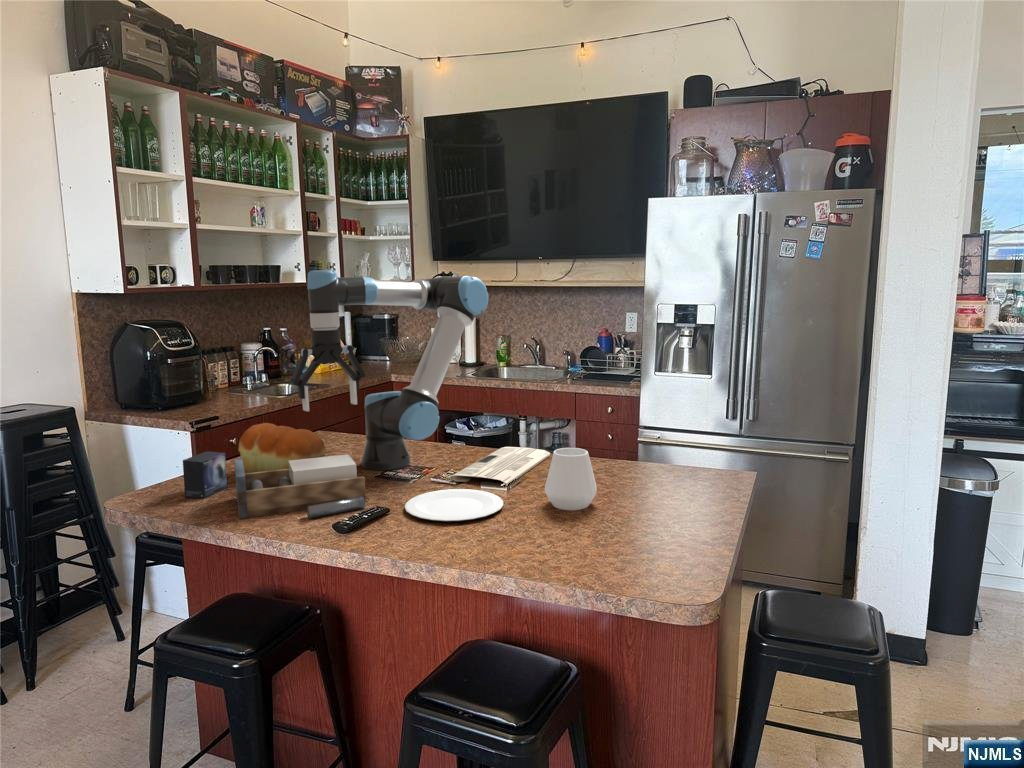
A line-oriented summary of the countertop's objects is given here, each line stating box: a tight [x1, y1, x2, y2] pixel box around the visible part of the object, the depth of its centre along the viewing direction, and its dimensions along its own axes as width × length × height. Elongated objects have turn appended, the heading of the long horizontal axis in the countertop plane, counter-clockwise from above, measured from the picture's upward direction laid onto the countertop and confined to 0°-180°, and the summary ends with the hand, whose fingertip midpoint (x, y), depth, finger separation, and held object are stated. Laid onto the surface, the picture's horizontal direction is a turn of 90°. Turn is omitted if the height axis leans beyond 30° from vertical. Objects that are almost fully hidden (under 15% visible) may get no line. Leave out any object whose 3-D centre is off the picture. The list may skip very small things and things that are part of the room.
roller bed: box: [233, 458, 367, 519], centre depth 183 cm, size 31×18×10 cm, turn 113°
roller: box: [306, 496, 366, 519], centre depth 172 cm, size 14×3×3 cm, turn 123°
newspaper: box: [449, 446, 551, 487], centre depth 212 cm, size 37×19×3 cm, turn 157°
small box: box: [182, 450, 228, 499], centre depth 190 cm, size 11×6×10 cm, turn 168°
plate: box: [404, 488, 504, 523], centre depth 175 cm, size 25×25×2 cm
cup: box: [544, 447, 598, 511], centre depth 176 cm, size 13×13×14 cm
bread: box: [237, 422, 327, 473], centre depth 206 cm, size 25×12×15 cm, turn 55°
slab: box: [288, 453, 358, 485], centre depth 185 cm, size 16×12×4 cm
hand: (330, 407), depth 187 cm, fingers open, 13 cm apart
